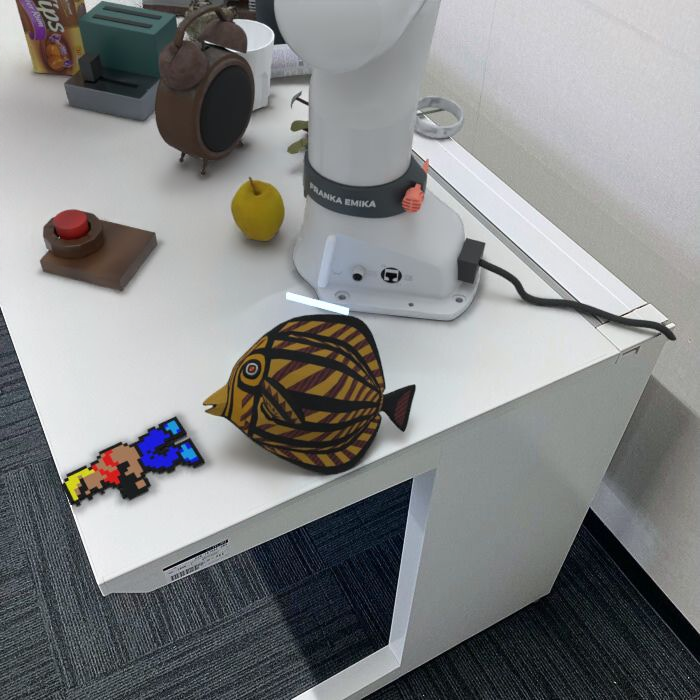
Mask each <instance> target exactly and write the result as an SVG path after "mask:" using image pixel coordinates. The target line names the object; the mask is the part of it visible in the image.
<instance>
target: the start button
mask: <svg viewBox="0 0 700 700" xmlns="http://www.w3.org/2000/svg"><path fill="white" fill-rule="evenodd" d="M82 211H83V210H80V209H73V208H72V209H70V208H69V209H65V210H62V211H60V212H58V213H57V214H56V215H55V216H54V217H55V218H54V225H55V229H56V232H57V235H58V236H59V238H61V239H65V240H74V239H79V238H81V237H83V236H86V235H87V233H88V232H89V225H88V222H87V218H86V215H85V213H84V212H85V211H84V212H82Z"/></svg>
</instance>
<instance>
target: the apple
mask: <svg viewBox="0 0 700 700" xmlns="http://www.w3.org/2000/svg"><path fill="white" fill-rule="evenodd" d="M285 208H286V207H285V203H284V200H283V197H282V195H281V193H280V191H279V190H278V189H277V188H276V186H274V185H273V184H271V183H269V182H265V181H262V180H259V179H252V177H251V176H248V180H247V181H245V182H244V183H242V184H241V185H240V187H239V188H238V189H237V191H236V192H235V194H234V196H233V197H232V200H231V204H230V211H231V215H232V218H233V220H234V223H235V224H236V226H237V227H238V229H239V230H240V231H241V233H243V235H244V236H246V238H247V239H249V240H253V241H257V242H258V241H259V242H268V241H270V240H272V239H273V238H274V237H275V236H276V235H277V233H278V232H279V231H280V229H281V227H282V225H283V222H284V219H285V213H286V209H285Z"/></svg>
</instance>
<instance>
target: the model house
mask: <svg viewBox="0 0 700 700" xmlns="http://www.w3.org/2000/svg"><path fill="white" fill-rule="evenodd" d="M209 1H210V2H211V4H212V5H215V6H221V4H225V5H227V7H230V6H231V7H233V6H235V7H236V10H237V13H238V19H242V20H251V21H256V22H257V17H256V7H255V0H209ZM190 3H191V0H142V8H143V9H149V10H154V11H159V12H165V13H170V14H175V15H176V16H185V12H186V11H188V9H189V5H190Z"/></svg>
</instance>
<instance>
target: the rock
mask: <svg viewBox="0 0 700 700" xmlns="http://www.w3.org/2000/svg"><path fill="white" fill-rule="evenodd" d="M205 5H212V4H211V2H210V1H209V0H191V3H190V5H189V9H188V11H186V12H185V16H184V15H183V16H184V18H185V17H186V16H187V15H189V14H190V13H192V12H193V11H195V10H197V9H198V8H200V7H203V6H205ZM218 7H220V8H221V10H222V11H223V13H224V15H225V17H226V18H227V15H228V14H229V13H230V12H231V13H233V15H234V19H238V13H237V10H236V7H235V6H233V7H231V6H230V7H227V5H225V4H221V6H218ZM184 18H183V19H184ZM217 19H219V18H218V16H217V15H216V13H215V11H211V12H208V13H206V14H204V15H202V16H201V17H199V18H197V19H196V20H195V21H193V22H192V23H191V24H190V25H189V26H188V27H187V29H186V31H185V34H186V35H187V36H189V37H191V38H192V39H193V40H195V41H197V38H198V37H199V36H200V35H202V34H203V31H204V29H205V27H206V26H207V24H208V23H210V22H211V21H213V20H217ZM234 19H233V20H234Z"/></svg>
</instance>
